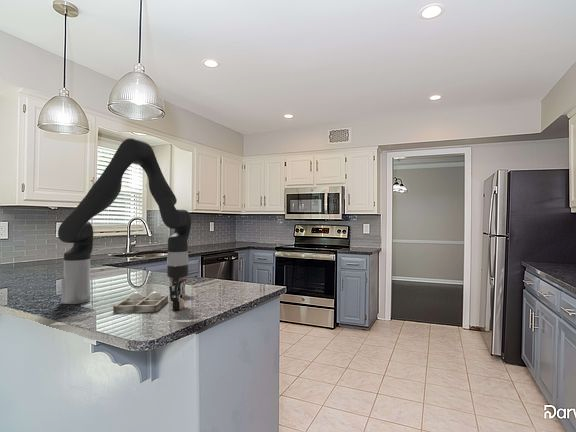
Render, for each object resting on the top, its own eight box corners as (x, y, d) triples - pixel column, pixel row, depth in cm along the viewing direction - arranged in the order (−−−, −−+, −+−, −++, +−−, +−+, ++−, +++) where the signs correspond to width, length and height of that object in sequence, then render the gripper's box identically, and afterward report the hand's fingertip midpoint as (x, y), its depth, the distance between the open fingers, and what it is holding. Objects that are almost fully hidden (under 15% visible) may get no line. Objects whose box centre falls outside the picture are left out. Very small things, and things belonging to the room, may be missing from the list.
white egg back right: (146, 305, 129) (146, 293, 129) (150, 302, 134) (150, 290, 134) (159, 305, 129) (159, 292, 129) (163, 302, 134) (162, 289, 134)
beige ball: (169, 312, 123) (169, 299, 123) (173, 308, 127) (173, 296, 127) (183, 312, 123) (183, 298, 123) (186, 308, 128) (186, 295, 128)
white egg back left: (127, 306, 128) (127, 293, 128) (132, 302, 133) (132, 290, 133) (140, 305, 129) (140, 293, 129) (144, 302, 133) (144, 290, 133)
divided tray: (113, 314, 120) (113, 306, 120) (129, 303, 135) (129, 296, 134) (156, 313, 121) (156, 305, 121) (167, 303, 136) (167, 295, 136)
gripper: (172, 261, 132) (172, 304, 132) (161, 266, 118) (161, 315, 118) (192, 260, 133) (192, 304, 133) (183, 266, 118) (183, 315, 118)
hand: (177, 309), depth 125 cm, fingers closed on beige ball, 4 cm apart
